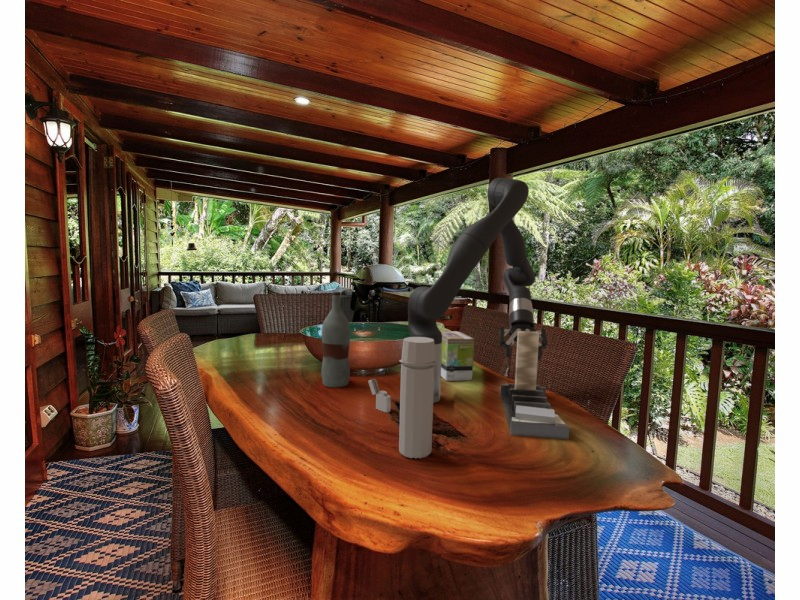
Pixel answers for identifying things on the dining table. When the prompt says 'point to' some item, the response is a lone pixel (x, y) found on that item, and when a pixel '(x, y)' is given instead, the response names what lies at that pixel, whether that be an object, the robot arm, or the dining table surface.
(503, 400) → the rack
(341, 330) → the vodka
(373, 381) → the lighter
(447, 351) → the tea box
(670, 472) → the dining table surface
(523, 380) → the beige tall block
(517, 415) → the offcut stack
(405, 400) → the water bottle
